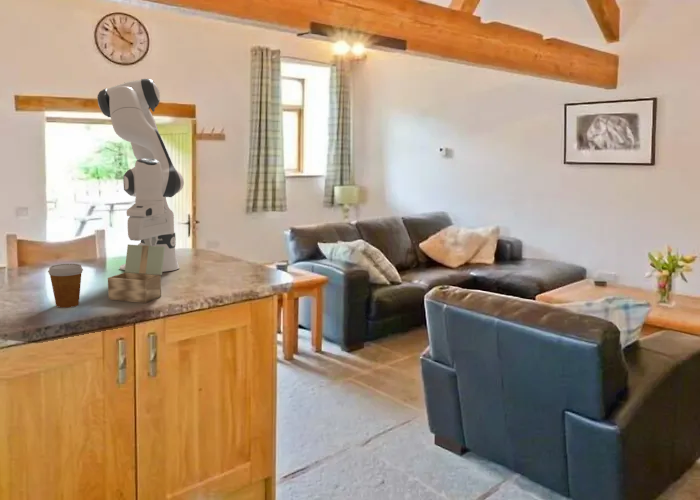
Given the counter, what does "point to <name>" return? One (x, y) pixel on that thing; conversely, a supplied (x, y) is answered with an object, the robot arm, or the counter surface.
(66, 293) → the disposable coffee cup
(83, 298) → the counter surface
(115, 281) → the box
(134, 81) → the robot arm
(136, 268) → the lid
